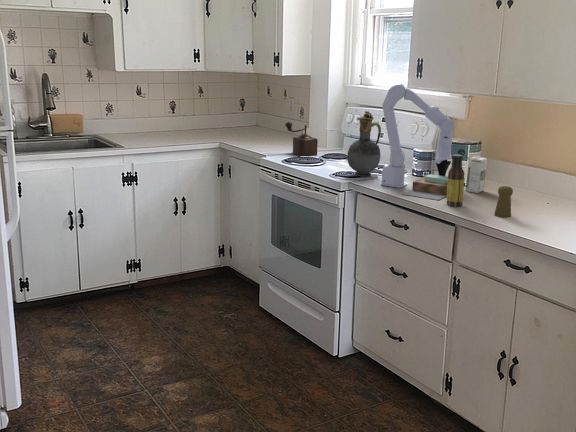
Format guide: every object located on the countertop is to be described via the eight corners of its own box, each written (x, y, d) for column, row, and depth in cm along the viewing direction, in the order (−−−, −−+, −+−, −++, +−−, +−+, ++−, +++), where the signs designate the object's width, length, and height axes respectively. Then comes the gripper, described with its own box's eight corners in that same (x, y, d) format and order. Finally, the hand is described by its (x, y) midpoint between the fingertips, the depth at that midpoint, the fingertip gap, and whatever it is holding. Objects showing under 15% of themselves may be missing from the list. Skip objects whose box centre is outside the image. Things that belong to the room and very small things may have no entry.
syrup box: (471, 189, 278) (474, 156, 274) (484, 191, 274) (487, 157, 270) (465, 191, 274) (468, 157, 270) (478, 193, 270) (482, 159, 266)
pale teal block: (424, 181, 273) (424, 176, 272) (429, 178, 278) (429, 174, 277) (444, 183, 268) (444, 179, 268) (449, 181, 273) (449, 176, 273)
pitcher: (343, 175, 300) (345, 111, 292) (369, 170, 313) (372, 109, 305) (360, 179, 293) (364, 113, 285) (386, 174, 305) (390, 111, 297)
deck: (412, 190, 273) (412, 181, 272) (422, 185, 282) (423, 176, 281) (446, 195, 265) (446, 186, 264) (455, 190, 274) (456, 181, 273)
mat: (402, 194, 265) (402, 194, 265) (410, 190, 273) (410, 190, 272) (438, 200, 257) (438, 199, 257) (446, 196, 264) (446, 195, 264)
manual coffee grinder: (307, 152, 360) (308, 120, 355) (317, 155, 351) (318, 122, 346) (283, 154, 353) (283, 121, 348) (292, 157, 344) (293, 124, 339)
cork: (491, 215, 236) (494, 186, 233) (499, 212, 240) (502, 184, 237) (506, 218, 232) (509, 189, 229) (514, 215, 236) (517, 186, 233)
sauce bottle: (458, 202, 254) (462, 153, 248) (465, 206, 248) (470, 156, 242) (442, 203, 252) (447, 153, 247) (449, 207, 246) (454, 156, 241)
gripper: (447, 149, 266) (444, 181, 270) (459, 145, 278) (456, 175, 281) (431, 147, 270) (428, 179, 273) (443, 143, 281) (441, 173, 285)
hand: (441, 177), depth 278 cm, fingers closed
